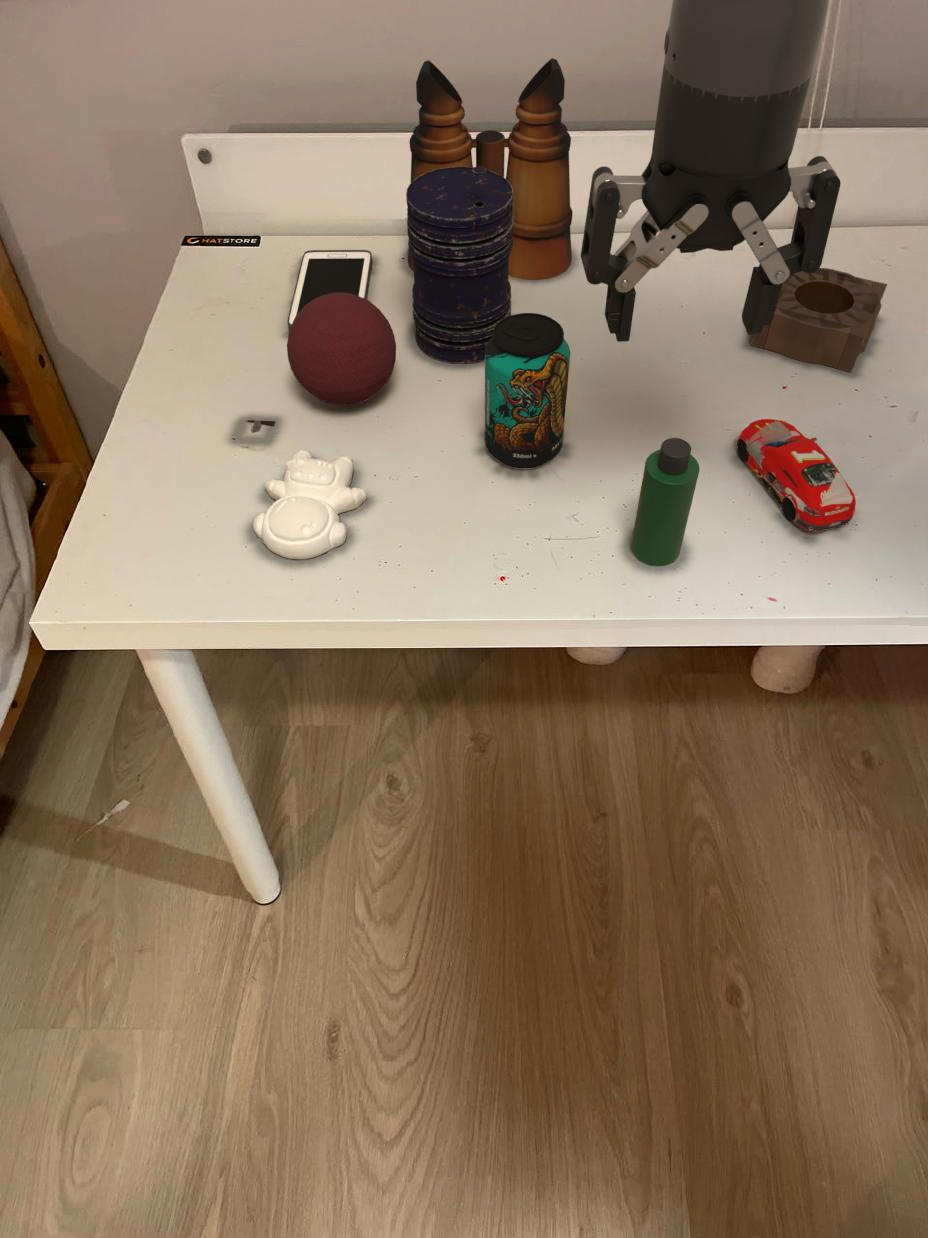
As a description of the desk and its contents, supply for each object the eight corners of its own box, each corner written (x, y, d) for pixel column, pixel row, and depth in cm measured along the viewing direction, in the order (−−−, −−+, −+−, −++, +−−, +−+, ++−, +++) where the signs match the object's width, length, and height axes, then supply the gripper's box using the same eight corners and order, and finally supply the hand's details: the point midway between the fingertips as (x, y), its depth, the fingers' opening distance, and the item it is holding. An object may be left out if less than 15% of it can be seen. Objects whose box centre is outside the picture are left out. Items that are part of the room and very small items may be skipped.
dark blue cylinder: (395, 330, 96) (380, 153, 82) (470, 296, 100) (468, 121, 86) (453, 377, 91) (448, 197, 77) (530, 339, 95) (538, 161, 81)
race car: (725, 442, 84) (734, 407, 81) (778, 430, 85) (789, 394, 82) (799, 543, 76) (812, 507, 73) (858, 528, 77) (873, 493, 74)
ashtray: (878, 318, 96) (891, 283, 93) (853, 375, 90) (866, 339, 87) (776, 292, 99) (785, 257, 96) (746, 346, 93) (755, 310, 90)
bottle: (686, 540, 77) (711, 439, 68) (670, 572, 75) (693, 472, 66) (641, 524, 78) (659, 423, 70) (623, 556, 76) (640, 455, 67)
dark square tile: (269, 443, 86) (266, 434, 85) (237, 442, 86) (234, 432, 85) (275, 421, 87) (273, 411, 86) (245, 420, 88) (242, 410, 87)
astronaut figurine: (381, 471, 83) (378, 445, 80) (332, 569, 76) (327, 543, 73) (290, 454, 84) (285, 428, 82) (234, 548, 77) (226, 522, 75)
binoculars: (406, 280, 102) (391, 84, 86) (409, 241, 107) (396, 49, 91) (574, 278, 101) (590, 81, 86) (569, 239, 107) (583, 46, 91)
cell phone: (373, 257, 105) (372, 249, 104) (362, 334, 96) (361, 325, 95) (305, 257, 105) (303, 249, 104) (287, 334, 96) (285, 326, 95)
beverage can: (538, 483, 81) (546, 368, 72) (470, 456, 84) (468, 342, 74) (575, 437, 85) (587, 323, 76) (509, 413, 87) (512, 299, 78)
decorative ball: (280, 382, 91) (261, 290, 83) (372, 351, 94) (362, 259, 86) (321, 440, 85) (305, 348, 78) (418, 405, 88) (411, 312, 81)
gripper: (613, 95, 45) (585, 372, 58) (901, 81, 46) (811, 360, 58) (590, 36, 50) (569, 304, 63) (851, 24, 50) (778, 293, 63)
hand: (685, 331), depth 61 cm, fingers open, 8 cm apart
